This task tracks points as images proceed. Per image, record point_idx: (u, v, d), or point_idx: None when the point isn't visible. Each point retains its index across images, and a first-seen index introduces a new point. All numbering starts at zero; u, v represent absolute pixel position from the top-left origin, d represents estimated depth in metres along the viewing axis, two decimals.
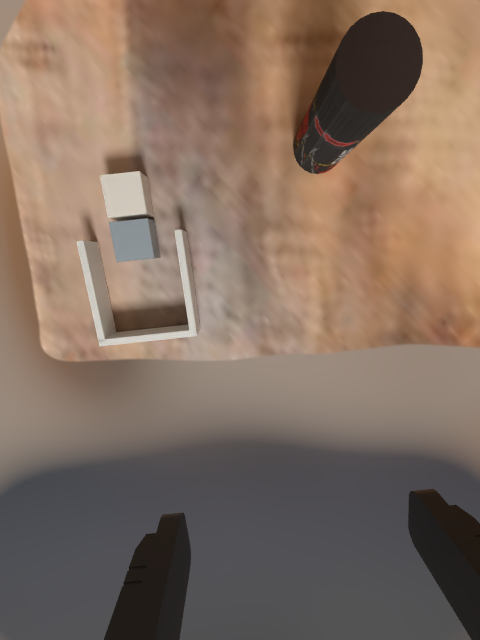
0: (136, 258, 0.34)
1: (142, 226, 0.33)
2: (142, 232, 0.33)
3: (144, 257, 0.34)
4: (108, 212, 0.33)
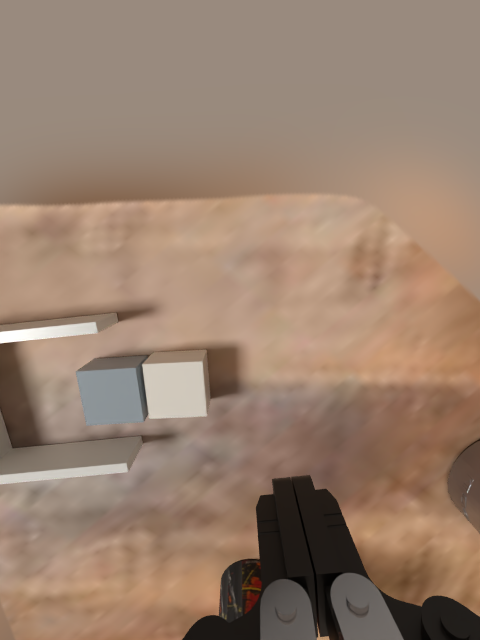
0: (83, 400, 0.22)
1: (131, 414, 0.22)
2: (123, 413, 0.22)
3: (86, 412, 0.22)
4: (149, 366, 0.21)
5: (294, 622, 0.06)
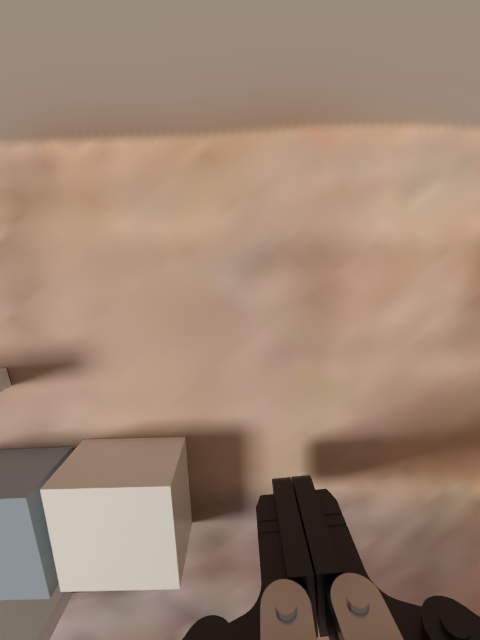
0: None
1: (24, 584, 0.11)
2: (6, 581, 0.11)
3: None
4: (56, 494, 0.10)
5: (294, 622, 0.06)
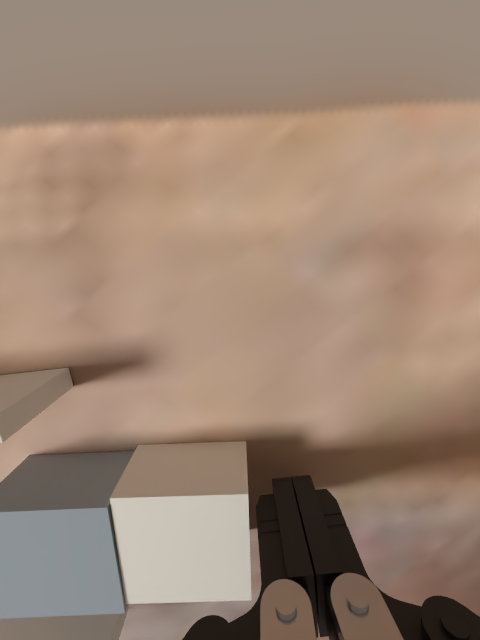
0: None
1: (98, 598, 0.10)
2: (79, 596, 0.10)
3: None
4: (126, 503, 0.09)
5: (294, 622, 0.06)
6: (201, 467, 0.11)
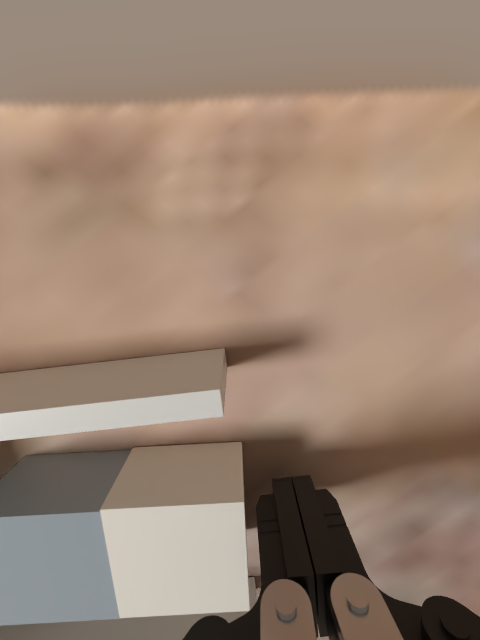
0: None
1: (93, 604, 0.10)
2: (73, 602, 0.10)
3: None
4: (117, 514, 0.09)
5: (294, 622, 0.06)
6: (195, 474, 0.10)
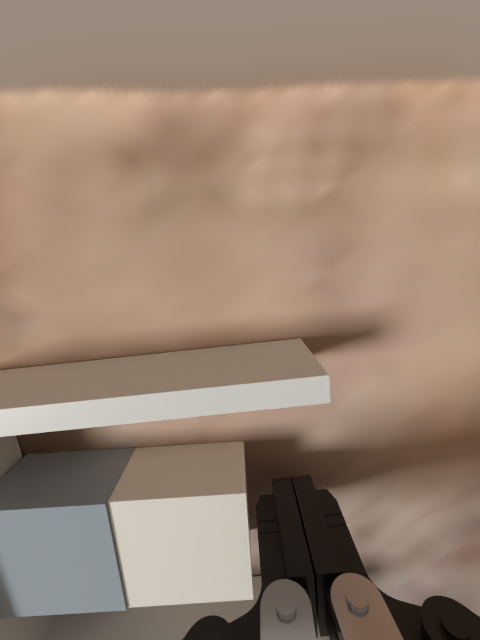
0: None
1: (98, 596, 0.10)
2: (79, 594, 0.10)
3: None
4: (124, 506, 0.09)
5: (294, 622, 0.06)
6: (199, 468, 0.11)
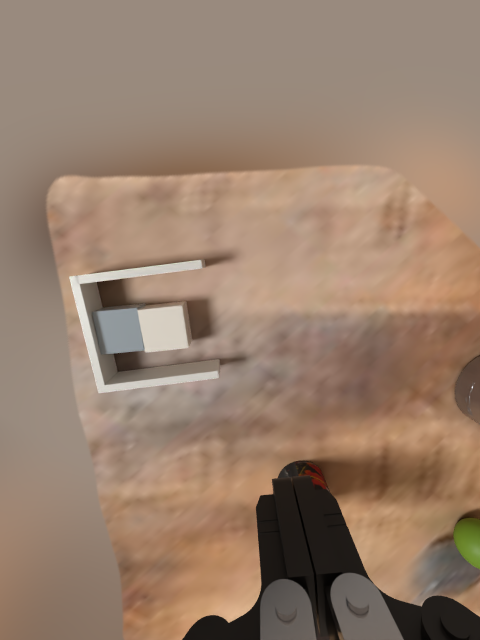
0: (98, 335, 0.29)
1: (134, 344, 0.30)
2: (128, 343, 0.30)
3: (100, 344, 0.30)
4: (142, 311, 0.29)
5: (294, 622, 0.06)
6: (168, 305, 0.30)
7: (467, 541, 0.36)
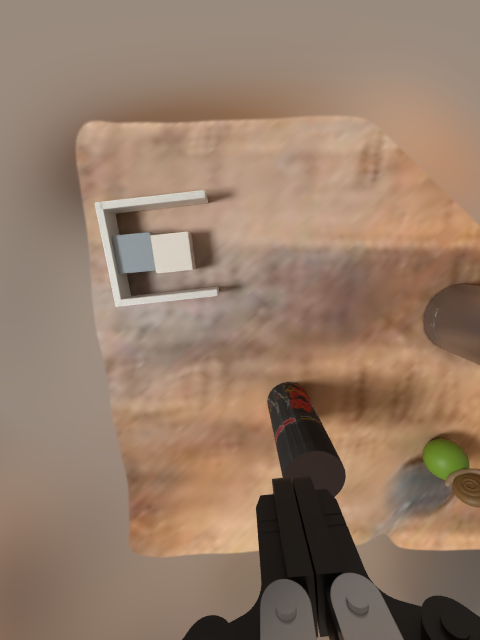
0: (117, 256, 0.35)
1: (147, 264, 0.35)
2: (142, 264, 0.35)
3: (118, 264, 0.35)
4: (154, 236, 0.34)
5: (294, 622, 0.06)
6: None
7: (432, 454, 0.41)
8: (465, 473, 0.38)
